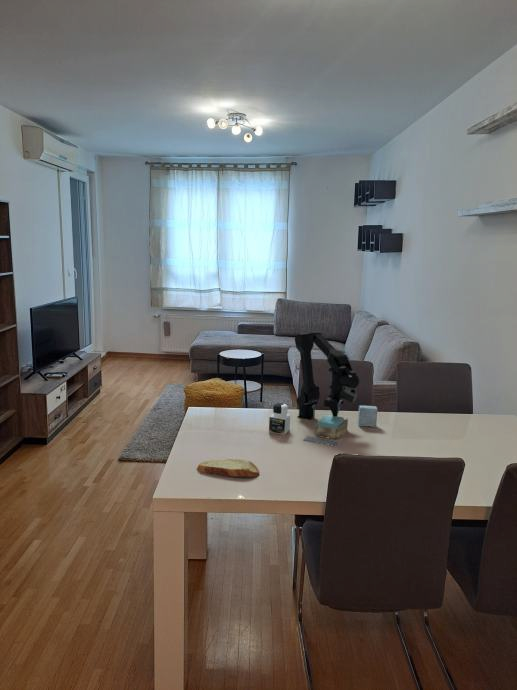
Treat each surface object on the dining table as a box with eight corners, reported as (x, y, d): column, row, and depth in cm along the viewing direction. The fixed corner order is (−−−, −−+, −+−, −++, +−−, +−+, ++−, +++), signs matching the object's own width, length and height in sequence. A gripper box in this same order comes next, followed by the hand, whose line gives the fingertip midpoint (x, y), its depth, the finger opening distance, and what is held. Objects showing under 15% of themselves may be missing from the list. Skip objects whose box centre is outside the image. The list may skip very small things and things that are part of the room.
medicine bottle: (268, 432, 223) (269, 405, 221) (274, 427, 229) (275, 401, 227) (284, 435, 220) (285, 407, 218) (289, 430, 227) (291, 403, 225)
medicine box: (375, 424, 239) (376, 406, 237) (376, 427, 234) (377, 409, 233) (357, 423, 239) (358, 405, 238) (358, 426, 235) (359, 407, 233)
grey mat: (303, 440, 215) (303, 439, 215) (307, 436, 219) (307, 436, 219) (336, 446, 209) (336, 446, 209) (340, 442, 213) (340, 442, 213)
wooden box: (314, 435, 221) (315, 423, 220) (325, 426, 234) (325, 415, 233) (337, 439, 217) (338, 427, 216) (347, 430, 229) (347, 418, 229)
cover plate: (317, 425, 219) (317, 421, 219) (325, 418, 229) (325, 414, 229) (336, 429, 216) (336, 424, 216) (343, 422, 226) (344, 417, 226)
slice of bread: (192, 469, 184) (193, 458, 183) (235, 458, 194) (235, 449, 194) (220, 488, 170) (220, 477, 169) (264, 476, 180) (265, 465, 180)
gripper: (350, 390, 214) (347, 427, 217) (361, 381, 231) (358, 415, 233) (323, 386, 218) (321, 422, 221) (336, 377, 235) (334, 411, 238)
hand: (335, 417), depth 228 cm, fingers closed
